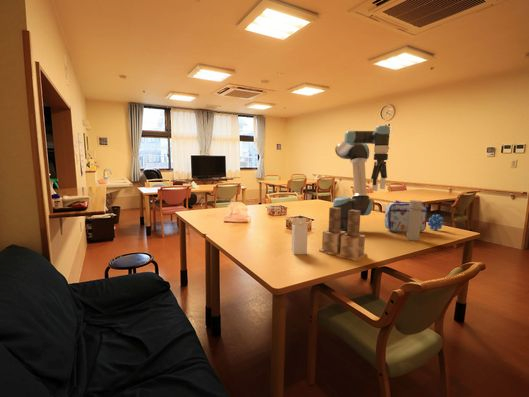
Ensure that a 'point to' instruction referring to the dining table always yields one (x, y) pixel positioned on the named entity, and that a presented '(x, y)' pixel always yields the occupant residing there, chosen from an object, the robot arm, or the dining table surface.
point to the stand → (343, 245)
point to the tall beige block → (414, 220)
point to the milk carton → (299, 236)
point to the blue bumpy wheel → (435, 222)
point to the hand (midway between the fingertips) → (378, 189)
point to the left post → (334, 219)
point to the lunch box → (401, 216)
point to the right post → (353, 223)
